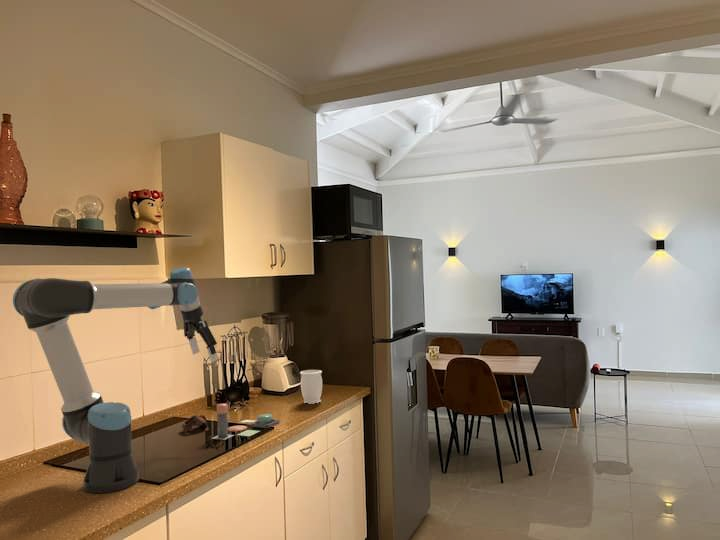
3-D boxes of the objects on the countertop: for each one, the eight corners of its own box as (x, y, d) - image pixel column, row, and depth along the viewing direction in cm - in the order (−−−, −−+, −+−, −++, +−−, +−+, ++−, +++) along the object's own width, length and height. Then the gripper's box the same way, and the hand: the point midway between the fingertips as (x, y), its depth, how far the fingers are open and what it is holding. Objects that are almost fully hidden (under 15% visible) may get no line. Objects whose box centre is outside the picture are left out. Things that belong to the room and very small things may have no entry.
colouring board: (238, 447, 192) (237, 440, 192) (198, 443, 199) (198, 436, 199) (281, 425, 218) (281, 419, 218) (245, 422, 226) (245, 416, 226)
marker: (226, 438, 199) (225, 405, 199) (216, 438, 199) (215, 406, 200) (229, 434, 203) (228, 403, 203) (219, 435, 203) (218, 403, 204)
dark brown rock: (207, 437, 207) (195, 421, 206) (187, 448, 209) (175, 431, 207) (216, 421, 219) (205, 405, 217) (198, 431, 221) (186, 415, 219)
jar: (297, 404, 256) (296, 372, 256) (307, 399, 265) (306, 369, 265) (316, 405, 251) (315, 373, 252) (326, 400, 261) (325, 369, 261)
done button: (267, 423, 212) (266, 418, 212) (254, 422, 215) (254, 417, 215) (275, 419, 218) (275, 414, 218) (263, 418, 220) (262, 413, 220)
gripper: (216, 308, 195) (231, 359, 202) (183, 298, 212) (197, 345, 219) (199, 317, 190) (214, 369, 197) (166, 306, 207) (181, 353, 214)
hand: (205, 356), depth 208 cm, fingers open, 13 cm apart
